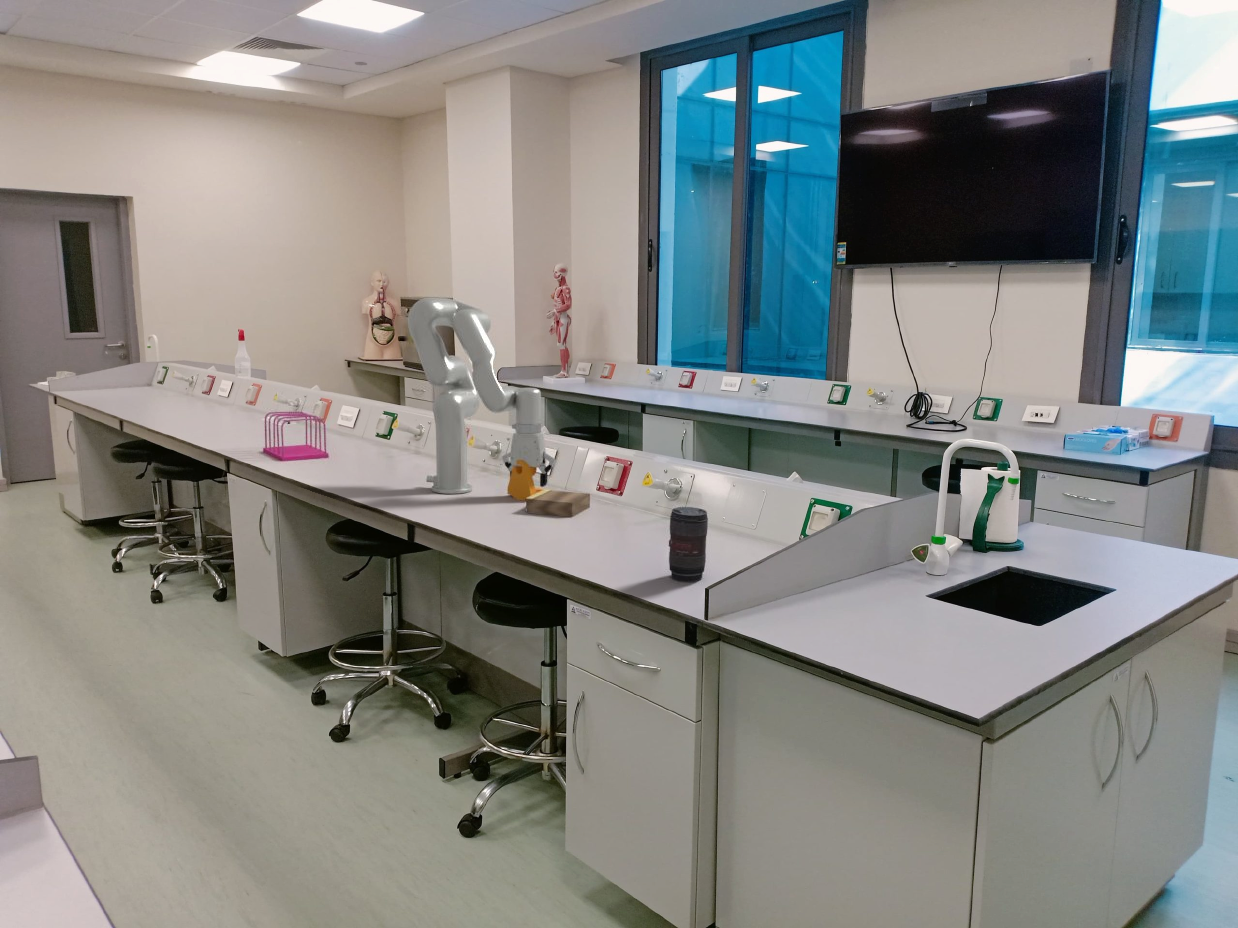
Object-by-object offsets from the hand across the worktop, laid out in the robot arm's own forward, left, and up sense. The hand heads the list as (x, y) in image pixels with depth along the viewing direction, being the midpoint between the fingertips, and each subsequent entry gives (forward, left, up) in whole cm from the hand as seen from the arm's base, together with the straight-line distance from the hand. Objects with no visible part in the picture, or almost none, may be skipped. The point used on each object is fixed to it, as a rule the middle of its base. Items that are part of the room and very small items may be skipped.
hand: (528, 484), depth 275 cm
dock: (+15, -12, -4) cm, 19 cm away
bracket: (0, 0, -4) cm, 4 cm away
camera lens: (+66, -63, -4) cm, 91 cm away
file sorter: (-113, +36, -4) cm, 118 cm away
